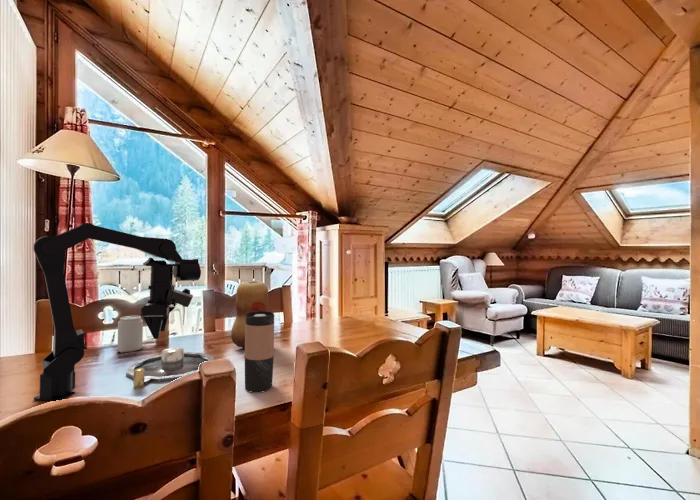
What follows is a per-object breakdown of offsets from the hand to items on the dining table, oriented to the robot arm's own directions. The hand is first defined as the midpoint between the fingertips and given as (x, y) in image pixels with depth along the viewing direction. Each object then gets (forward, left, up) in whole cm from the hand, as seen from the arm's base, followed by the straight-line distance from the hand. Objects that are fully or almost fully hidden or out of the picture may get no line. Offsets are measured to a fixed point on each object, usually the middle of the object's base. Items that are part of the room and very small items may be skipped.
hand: (159, 334), depth 102 cm
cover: (+4, -2, -11) cm, 12 cm away
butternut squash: (+29, -17, -12) cm, 36 cm away
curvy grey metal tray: (+2, -2, -11) cm, 12 cm away
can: (+19, +23, -12) cm, 32 cm away
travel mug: (-5, -32, -12) cm, 34 cm away
